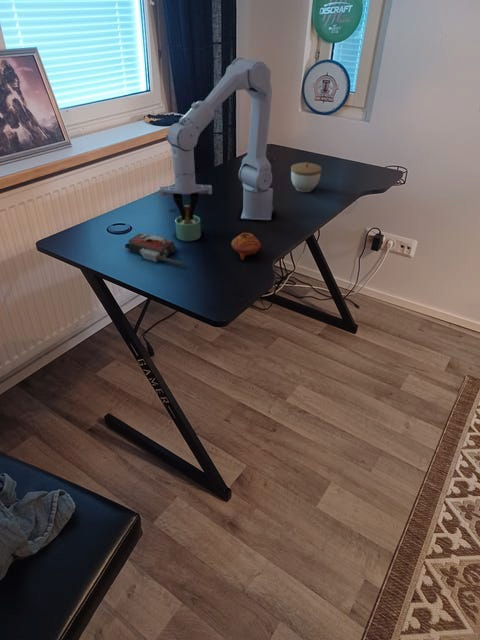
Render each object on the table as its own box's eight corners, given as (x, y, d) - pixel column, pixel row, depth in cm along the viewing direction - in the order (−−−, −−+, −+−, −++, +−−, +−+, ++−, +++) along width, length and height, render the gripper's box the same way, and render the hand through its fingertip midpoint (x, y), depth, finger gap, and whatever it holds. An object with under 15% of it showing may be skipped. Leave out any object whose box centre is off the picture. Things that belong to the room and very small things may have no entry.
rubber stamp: (195, 226, 136) (194, 202, 131) (196, 233, 132) (195, 208, 127) (180, 227, 135) (178, 203, 131) (180, 234, 132) (178, 209, 127)
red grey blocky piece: (120, 253, 126) (181, 270, 118) (117, 239, 123) (180, 255, 116) (139, 240, 132) (198, 256, 125) (137, 226, 129) (198, 241, 122)
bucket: (202, 230, 137) (202, 215, 134) (198, 241, 131) (197, 225, 128) (179, 229, 138) (178, 214, 135) (174, 240, 132) (172, 224, 129)
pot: (223, 255, 124) (226, 231, 121) (243, 252, 130) (246, 228, 127) (245, 264, 120) (249, 239, 117) (264, 260, 125) (268, 236, 122)
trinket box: (315, 196, 160) (318, 169, 154) (286, 192, 163) (287, 165, 157) (322, 185, 168) (325, 159, 162) (293, 182, 171) (295, 156, 165)
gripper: (210, 165, 127) (211, 211, 135) (157, 167, 126) (162, 213, 134) (211, 174, 122) (213, 221, 130) (156, 176, 120) (162, 224, 128)
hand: (187, 218), depth 131 cm, fingers closed on rubber stamp
